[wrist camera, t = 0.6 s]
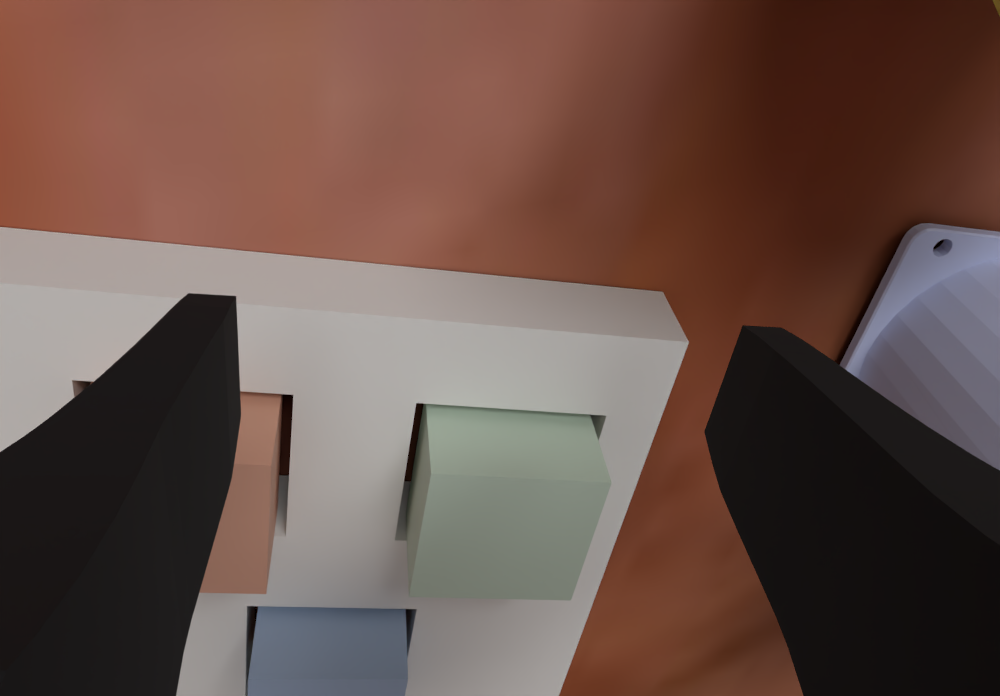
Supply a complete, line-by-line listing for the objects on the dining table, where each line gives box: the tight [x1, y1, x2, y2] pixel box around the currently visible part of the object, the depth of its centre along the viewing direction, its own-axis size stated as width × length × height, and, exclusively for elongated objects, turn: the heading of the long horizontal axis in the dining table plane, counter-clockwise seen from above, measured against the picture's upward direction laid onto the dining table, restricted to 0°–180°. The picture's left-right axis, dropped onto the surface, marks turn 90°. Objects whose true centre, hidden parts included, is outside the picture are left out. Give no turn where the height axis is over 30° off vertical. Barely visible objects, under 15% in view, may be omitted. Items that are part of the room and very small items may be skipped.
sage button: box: [406, 404, 612, 600], centre depth 22 cm, size 4×4×3 cm
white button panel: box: [0, 227, 689, 696], centre depth 25 cm, size 18×18×2 cm
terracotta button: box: [91, 382, 283, 594], centre depth 21 cm, size 4×4×3 cm
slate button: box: [248, 606, 408, 696], centre depth 26 cm, size 4×4×3 cm
